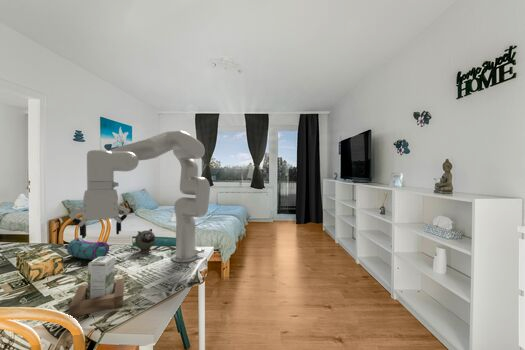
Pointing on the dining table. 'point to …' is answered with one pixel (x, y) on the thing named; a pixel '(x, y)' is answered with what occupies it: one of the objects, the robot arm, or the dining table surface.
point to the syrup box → (101, 277)
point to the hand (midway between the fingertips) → (101, 235)
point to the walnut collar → (96, 300)
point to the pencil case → (87, 249)
